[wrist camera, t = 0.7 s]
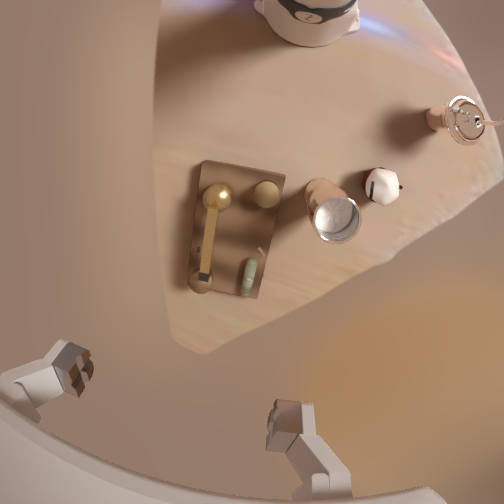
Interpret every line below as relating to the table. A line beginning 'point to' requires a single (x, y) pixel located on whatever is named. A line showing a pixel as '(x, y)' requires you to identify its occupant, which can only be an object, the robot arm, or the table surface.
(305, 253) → the table surface
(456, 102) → the cup with straw
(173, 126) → the table surface
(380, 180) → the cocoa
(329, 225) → the beer glass
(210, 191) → the lever handle
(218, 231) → the levelling base
